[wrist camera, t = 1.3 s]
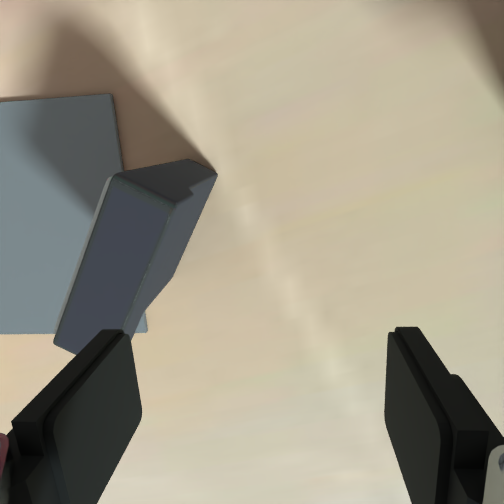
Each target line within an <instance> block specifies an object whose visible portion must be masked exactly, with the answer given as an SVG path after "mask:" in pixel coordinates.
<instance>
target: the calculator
mask: <svg viewBox="0 0 504 504" xmlns="http://www.w3.org/2000/svg"><path fill="white" fill-rule="evenodd" d="M217 176H218V174H217V173H216V172H214V171H212V170H210V169H208V168H206V167H204V166H202V165H200V164H198V163H196V162H194V161H192V160H190V159H185V160H180V161H175V162H170V163H164V164H159V165H154V166H149V167H144V168H139V169H134V170H129V171H123V172H119V173H116V174H114V175H113V176H112V177H109V178H108V179H107V181H106V183H105V186H104V188H103V191H102V194H101V197H100V200H99V203H98V205H97V208H96V211H95V214H94V217H93V220H92V222H91V225H90V228H89V231H88V234H87V237H86V239H85V242H84V245H83V248H82V251H81V254H80V256H79V259H78V262H77V265H76V268H75V271H74V273H73V276H72V279H71V282H70V285H69V288H68V290H67V293H66V296H65V299H64V302H63V305H62V307H61V310H60V313H59V316H58V319H57V322H56V324H55V328H54V333H56V335H55V337H54V341H53V343H54V345H56V346H58V347H60V348H63V349H65V350H67V351H69V352H71V353H73V354H75V355H77V354H78V353H79V352H80V351H81V350H82V349H83V348H84V347H85V346H86V345H87V344H88V343H89V342H90V341H91V340H92V339H93V338H94V337H95V336H96V335H97V334H98V333H99V332H100V331H101V330H102V329H122V330H123V331H124V333H125V334H128V335H129V336H130V339H131V340H132V338H133V335H134V333H135V331H136V329H137V326H138V324H139V322H140V319H141V317H142V315H143V312H144V311H145V310H146V308H147V307H148V306H149V305H150V304H151V302H152V301H153V300H154V299H155V298H156V297H157V295H158V294H159V293H160V292H161V291H162V289H163V288H164V287H165V286H166V285H167V283H168V282H169V281H170V280H171V279H172V277H173V275H174V273H175V271H176V268H177V266H178V264H179V262H180V259H181V257H182V255H183V253H184V250H185V248H186V246H187V244H188V241H189V239H190V237H191V235H192V233H193V230H194V228H195V226H196V224H197V221H198V219H199V217H200V215H201V212H202V210H203V208H204V206H205V203H206V201H207V199H208V197H209V194H210V192H211V190H212V188H213V185H214V183H215V181H216V179H217Z"/></svg>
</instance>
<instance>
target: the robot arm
mask: <svg viewBox="0 0 504 504" xmlns="http://www.w3.org/2000/svg"><path fill="white" fill-rule="evenodd" d="M384 415H385V424H386V428H387V431H388V434H389V437H390V440H391V443H392V446H393V449H394V452H395V455H396V458H397V461H398V464H399V467H400V470H401V473H402V476H403V479H404V482H405V485H406V488H407V490H408V493H409V496H410V499H411V502H412V504H504V437H503V436H502V435H501V433H500V432H499V430H498V429H497V428H496V426H495V425H494V423H493V422H492V421H491V419H490V418H489V416H488V415H487V414H486V412H485V411H484V409H483V408H482V407H481V405H480V404H479V402H478V401H477V400H476V398H475V397H474V395H473V394H472V393H471V391H470V390H469V388H468V387H467V386H466V384H465V383H464V381H463V380H462V379H461V378H460V377H459V376H458V375H456V374H450V373H449V371H448V370H447V368H446V367H445V365H444V364H443V363H442V361H441V360H440V358H439V357H438V355H437V354H436V352H435V351H434V349H433V348H432V346H431V345H430V343H429V342H428V341H427V339H426V338H425V336H424V335H423V333H422V332H421V330H420V329H419V328H418V327H396V328H395V332H389V333H388V344H387V366H386V388H385V410H384ZM141 417H142V406H141V400H140V394H139V388H138V382H137V375H136V369H135V363H134V357H133V351H132V345H131V339H130V336H129V335H128V334H125V333H124V331H123V330H122V329H102V330H101V331H100V332H99V333H98V334H97V335H96V336H95V337H94V338H93V339H92V340H91V341H90V342H89V343H88V344H87V345H86V346H85V347H84V348H83V349H82V350H81V351H80V352H79V353H78V354H77V355H76V356H75V357H74V358H73V359H72V360H71V361H70V362H69V363H68V364H67V365H66V366H65V367H64V368H63V369H62V370H61V371H60V372H59V373H58V374H57V375H56V376H55V377H54V378H53V379H52V380H51V381H50V383H49V384H48V385H47V386H46V387H45V388H44V389H43V390H42V391H41V392H40V393H39V394H38V395H37V396H36V397H35V398H34V399H33V400H32V401H31V402H30V403H29V404H28V405H27V406H26V407H25V408H24V409H23V410H22V411H21V412H20V413H19V414H18V415H17V416H16V417H15V418H14V419H13V420H12V421H11V423H12V426H13V429H12V430H11V431H10V432H9V433H8V434H7V435H5V434H3V433H0V504H97V502H98V501H99V499H100V497H101V495H102V493H103V491H104V489H105V487H106V485H107V484H108V482H109V480H110V478H111V476H112V474H113V472H114V470H115V468H116V467H117V465H118V463H119V461H120V459H121V457H122V455H123V453H124V451H125V450H126V448H127V446H128V444H129V442H130V440H131V438H132V436H133V434H134V433H135V431H136V429H137V427H138V425H139V423H140V421H141Z"/></svg>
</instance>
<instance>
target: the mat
mask: <svg viewBox="0 0 504 504" xmlns="http://www.w3.org/2000/svg"><path fill="white" fill-rule="evenodd" d="M123 171H124V169H123V162H122V155H121V149H120V142H119V135H118V129H117V122H116V116H115V109H114V102H113V96H112V94H99V95H86V96H74V97H61V98H48V99H36V100H23V101H10V102H0V334H56V333H54V328H55V324H56V322H57V319H58V316H59V313H60V310H61V307H62V305H63V302H64V299H65V296H66V293H67V290H68V288H69V285H70V282H71V279H72V276H73V273H74V271H75V268H76V265H77V262H78V259H79V256H80V254H81V251H82V248H83V245H84V242H85V239H86V237H87V234H88V231H89V228H90V225H91V222H92V220H93V217H94V214H95V211H96V208H97V205H98V203H99V200H100V197H101V194H102V191H103V188H104V186H105V183H106V181H107V179H108V178H109V177H112V176H113V175H114V174H116V173H119V172H123ZM147 331H148V328H147V321H146V314H145V311H144V312H143V315H142V317H141V319H140V322H139V324H138V326H137V329H136V331H135V333H146V332H147Z"/></svg>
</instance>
